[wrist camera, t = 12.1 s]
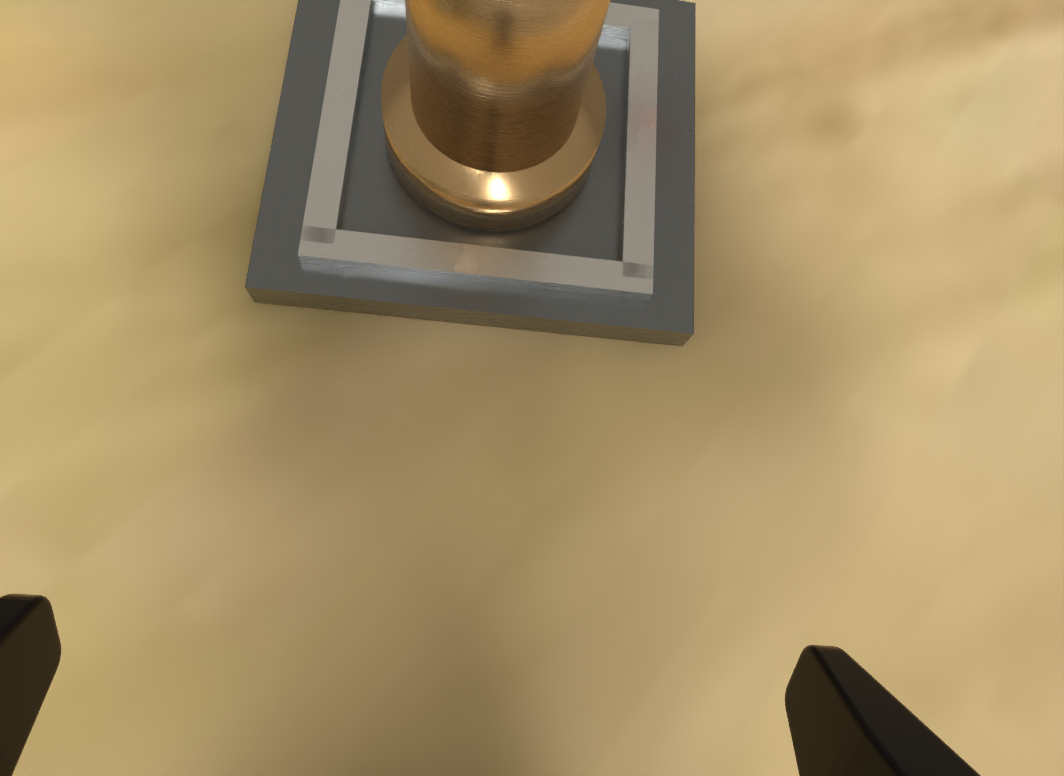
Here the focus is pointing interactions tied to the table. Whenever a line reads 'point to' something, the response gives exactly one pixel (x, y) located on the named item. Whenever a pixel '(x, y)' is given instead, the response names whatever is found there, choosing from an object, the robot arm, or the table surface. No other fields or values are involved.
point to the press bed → (470, 254)
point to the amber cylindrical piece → (495, 107)
